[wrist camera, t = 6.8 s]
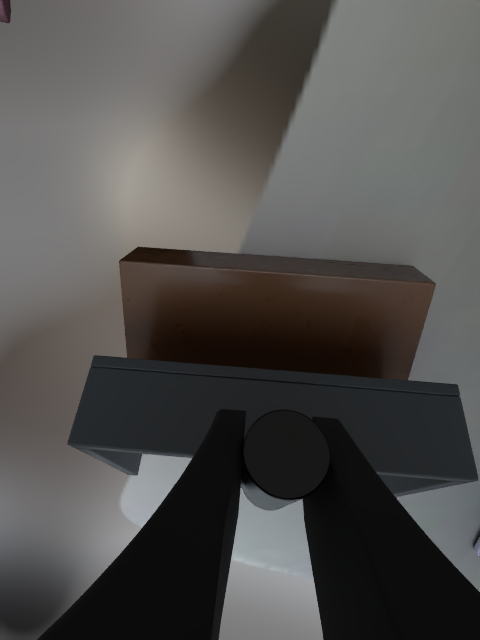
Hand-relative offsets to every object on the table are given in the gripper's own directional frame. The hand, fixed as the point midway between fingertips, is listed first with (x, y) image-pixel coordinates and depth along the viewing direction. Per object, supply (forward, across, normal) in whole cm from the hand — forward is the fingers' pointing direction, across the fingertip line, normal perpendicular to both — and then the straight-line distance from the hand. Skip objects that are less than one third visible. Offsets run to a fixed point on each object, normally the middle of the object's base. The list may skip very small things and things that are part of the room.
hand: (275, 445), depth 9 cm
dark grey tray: (+4, 0, +1) cm, 4 cm away
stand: (+10, 0, +2) cm, 10 cm away
